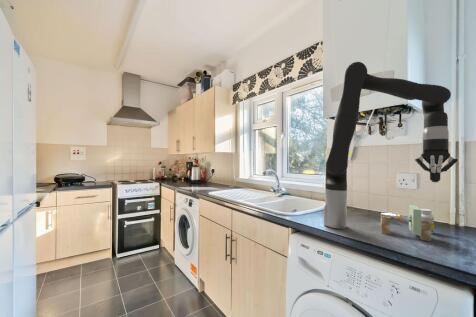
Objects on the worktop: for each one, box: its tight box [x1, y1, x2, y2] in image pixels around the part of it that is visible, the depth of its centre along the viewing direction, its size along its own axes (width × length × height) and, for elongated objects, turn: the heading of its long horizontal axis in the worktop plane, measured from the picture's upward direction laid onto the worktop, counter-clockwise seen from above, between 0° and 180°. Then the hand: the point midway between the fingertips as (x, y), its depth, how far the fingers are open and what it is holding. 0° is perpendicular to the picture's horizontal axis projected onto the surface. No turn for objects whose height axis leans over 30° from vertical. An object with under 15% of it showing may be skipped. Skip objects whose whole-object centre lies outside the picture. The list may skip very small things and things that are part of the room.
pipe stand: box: [380, 215, 432, 242], centre depth 89 cm, size 16×6×7 cm, turn 59°
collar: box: [408, 204, 422, 237], centre depth 88 cm, size 2×10×10 cm, turn 149°
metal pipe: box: [380, 212, 430, 223], centre depth 89 cm, size 16×3×3 cm, turn 59°
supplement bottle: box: [420, 208, 435, 235], centre depth 94 cm, size 5×5×10 cm
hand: (435, 182), depth 85 cm, fingers closed
